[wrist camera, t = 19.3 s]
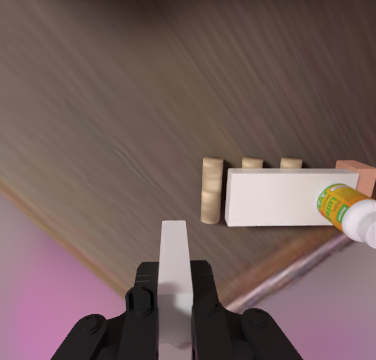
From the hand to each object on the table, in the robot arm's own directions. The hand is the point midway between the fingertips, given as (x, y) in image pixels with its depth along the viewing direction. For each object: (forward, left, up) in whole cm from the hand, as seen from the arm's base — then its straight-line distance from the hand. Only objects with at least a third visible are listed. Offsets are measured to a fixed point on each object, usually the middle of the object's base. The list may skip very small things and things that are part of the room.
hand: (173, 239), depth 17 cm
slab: (+17, -5, -21) cm, 27 cm away
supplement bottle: (+23, -5, -19) cm, 30 cm away
